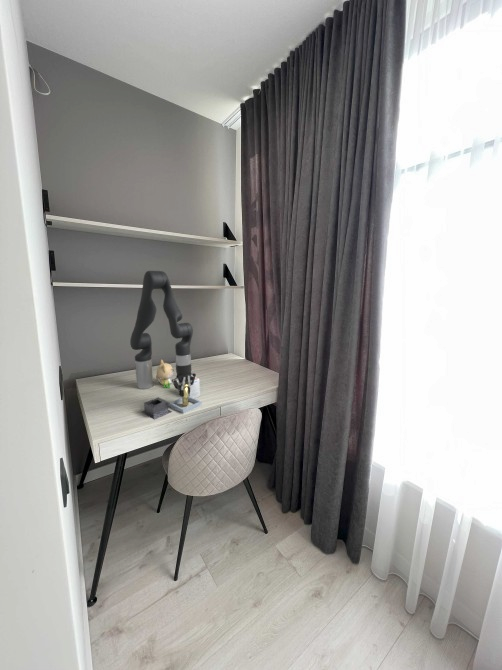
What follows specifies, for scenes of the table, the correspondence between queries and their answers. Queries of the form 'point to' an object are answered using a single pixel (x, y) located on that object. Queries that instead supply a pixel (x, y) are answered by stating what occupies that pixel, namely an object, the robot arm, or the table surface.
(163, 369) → the kitten
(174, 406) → the tray
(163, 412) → the block
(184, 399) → the pin
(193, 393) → the light bulb box
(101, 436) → the table surface
